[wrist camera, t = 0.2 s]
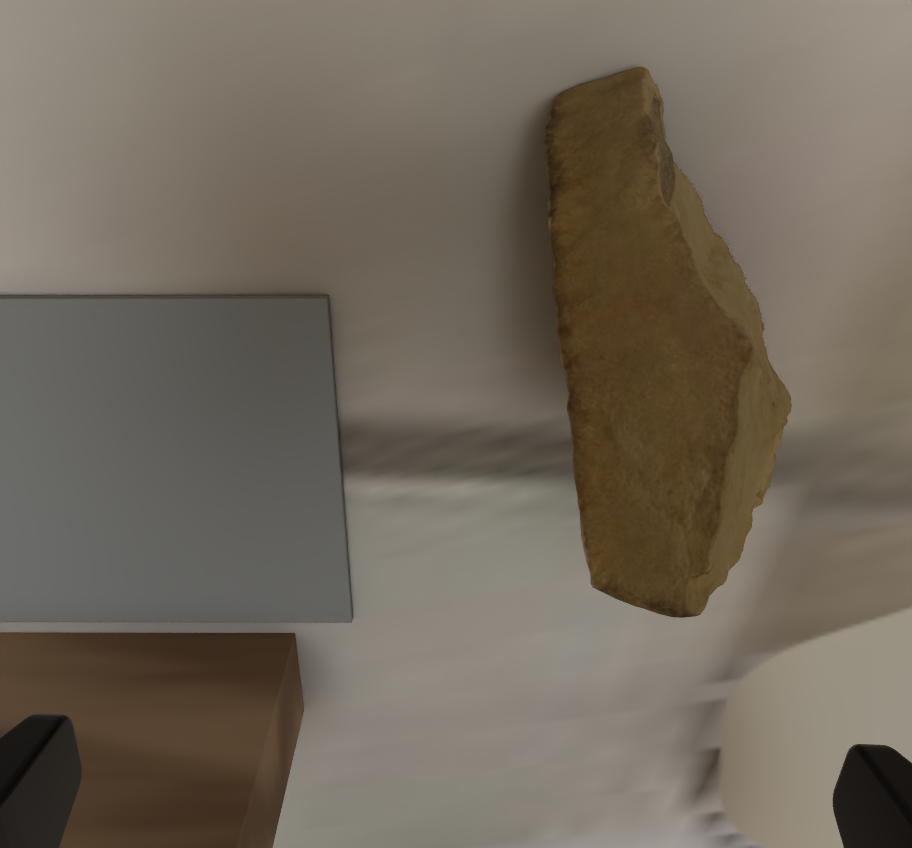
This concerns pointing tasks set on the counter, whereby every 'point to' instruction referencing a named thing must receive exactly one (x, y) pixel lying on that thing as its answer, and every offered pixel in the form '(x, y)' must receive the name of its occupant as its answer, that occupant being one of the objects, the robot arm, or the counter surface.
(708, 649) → the counter surface
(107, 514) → the mat
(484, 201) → the counter surface
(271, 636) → the slab
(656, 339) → the rock
